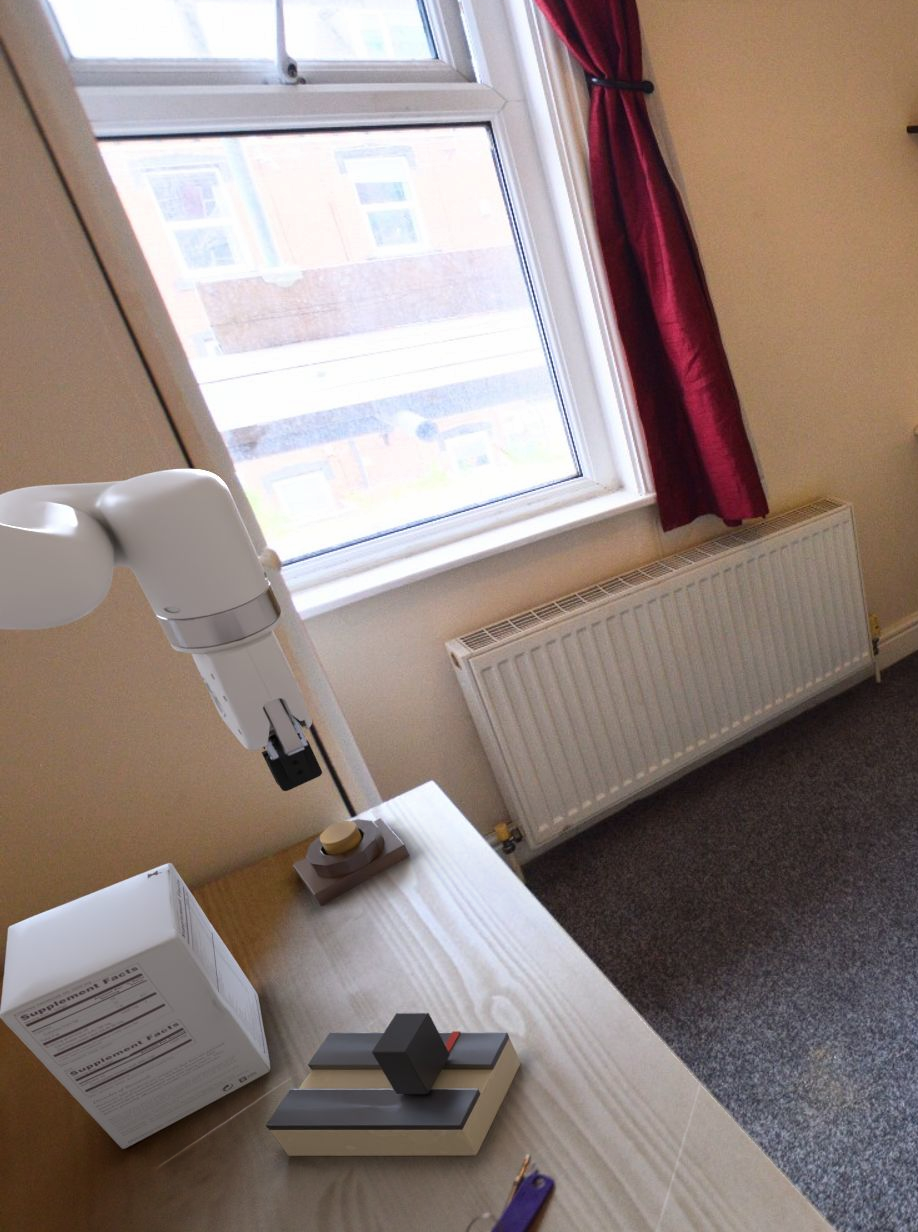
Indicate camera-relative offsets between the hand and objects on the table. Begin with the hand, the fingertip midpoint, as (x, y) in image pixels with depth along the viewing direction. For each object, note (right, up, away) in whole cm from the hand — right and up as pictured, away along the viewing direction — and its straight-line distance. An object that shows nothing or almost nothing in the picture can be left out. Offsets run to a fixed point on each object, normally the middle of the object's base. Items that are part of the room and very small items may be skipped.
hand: (300, 779), depth 81 cm
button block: (0, -10, +6) cm, 12 cm away
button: (0, -8, +5) cm, 9 cm away
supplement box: (+1, -21, -11) cm, 24 cm away
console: (+20, -22, -14) cm, 33 cm away
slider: (+23, -19, -16) cm, 34 cm away
